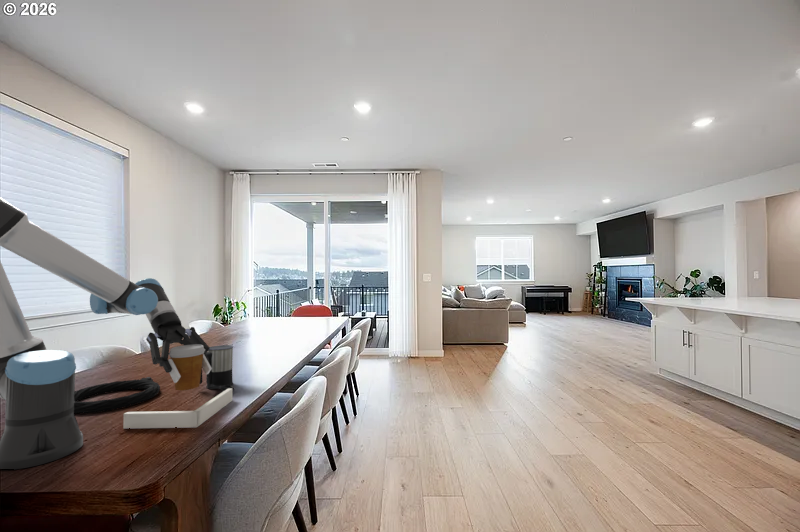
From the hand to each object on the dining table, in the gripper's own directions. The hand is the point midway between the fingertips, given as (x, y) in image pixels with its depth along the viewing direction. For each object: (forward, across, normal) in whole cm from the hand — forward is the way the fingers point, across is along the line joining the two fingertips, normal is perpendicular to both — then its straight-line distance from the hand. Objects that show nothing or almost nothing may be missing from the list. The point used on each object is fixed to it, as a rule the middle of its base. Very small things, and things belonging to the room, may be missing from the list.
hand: (193, 375), depth 108 cm
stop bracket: (+4, -1, -13) cm, 14 cm away
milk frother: (-4, -22, -22) cm, 32 cm away
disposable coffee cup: (+1, 0, -5) cm, 5 cm away
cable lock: (-20, +2, -39) cm, 44 cm away
